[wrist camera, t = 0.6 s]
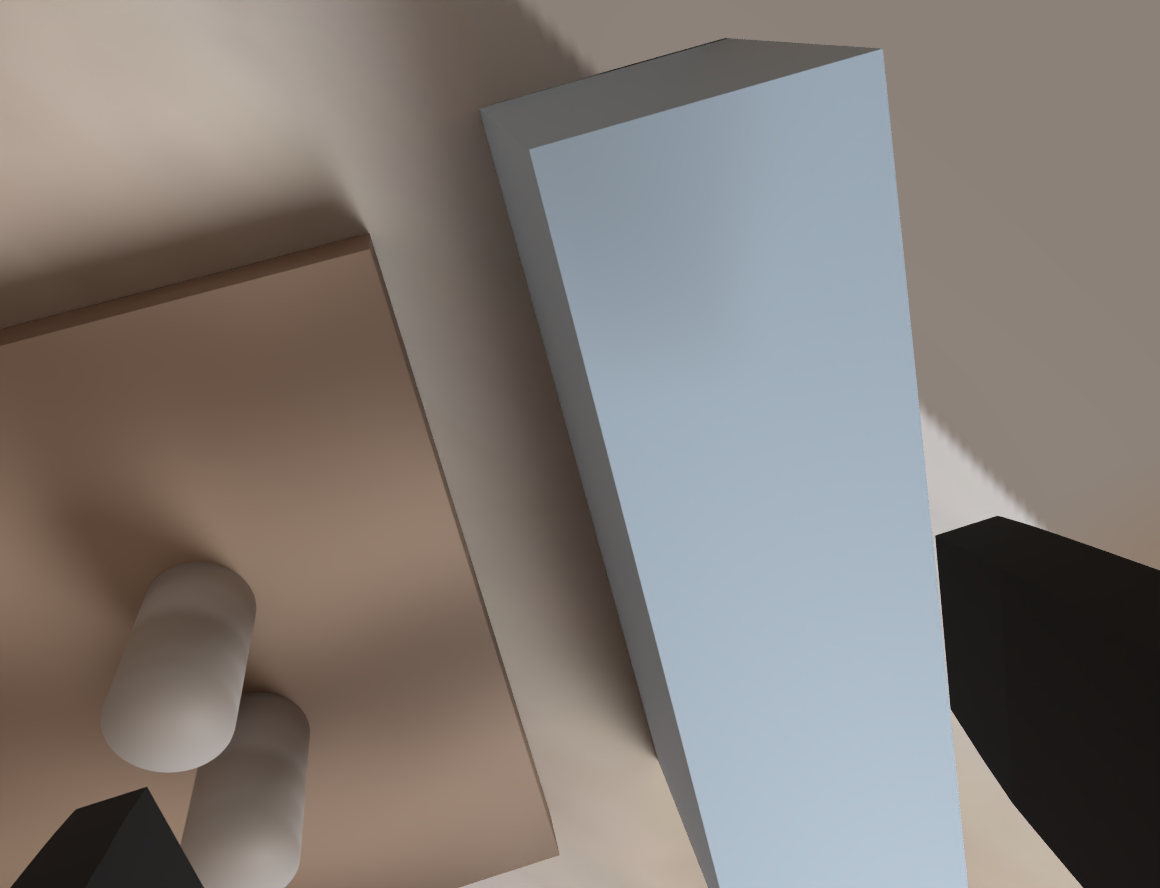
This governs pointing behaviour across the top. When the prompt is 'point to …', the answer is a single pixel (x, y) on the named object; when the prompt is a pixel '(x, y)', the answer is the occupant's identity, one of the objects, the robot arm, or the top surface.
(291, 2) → the top surface
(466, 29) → the top surface
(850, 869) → the pale blue rectangular block
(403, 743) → the peg stand
